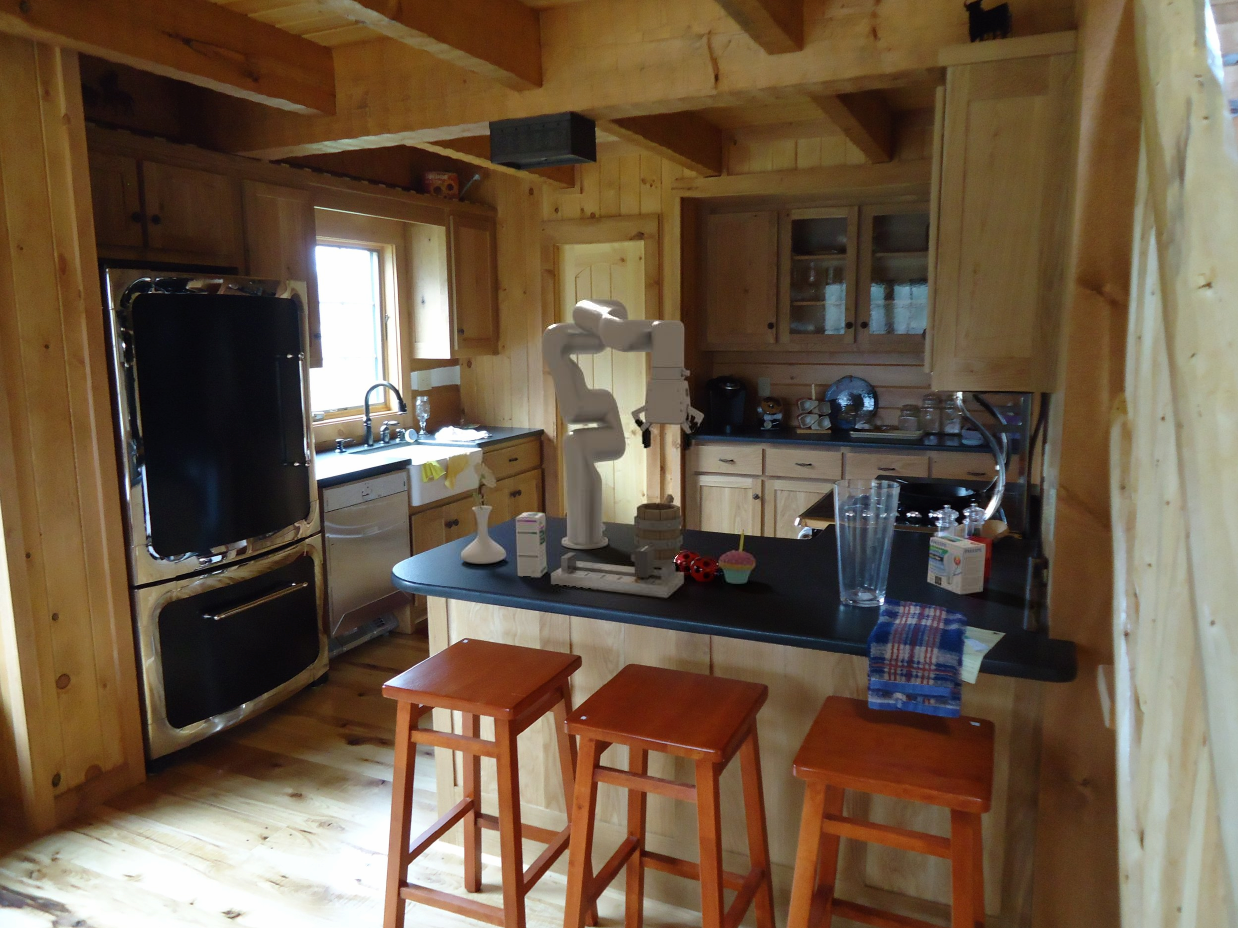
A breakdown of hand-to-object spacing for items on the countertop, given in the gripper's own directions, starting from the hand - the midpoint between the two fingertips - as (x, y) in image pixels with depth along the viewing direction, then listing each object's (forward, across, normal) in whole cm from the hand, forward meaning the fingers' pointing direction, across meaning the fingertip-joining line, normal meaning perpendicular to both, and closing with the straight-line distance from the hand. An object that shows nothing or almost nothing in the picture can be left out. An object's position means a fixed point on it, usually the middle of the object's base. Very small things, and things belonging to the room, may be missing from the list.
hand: (666, 448), depth 203 cm
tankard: (+31, +6, -15) cm, 35 cm away
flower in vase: (+31, +47, +5) cm, 56 cm away
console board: (+30, +8, +11) cm, 33 cm away
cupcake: (+31, -17, -1) cm, 35 cm away
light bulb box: (+31, -64, -15) cm, 73 cm away
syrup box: (+31, +30, +11) cm, 44 cm away
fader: (+27, +1, +11) cm, 30 cm away
